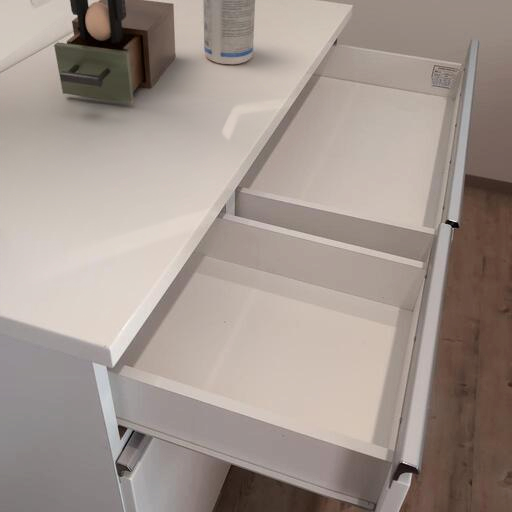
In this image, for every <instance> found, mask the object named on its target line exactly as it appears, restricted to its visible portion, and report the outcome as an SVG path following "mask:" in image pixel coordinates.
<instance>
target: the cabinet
mask: <svg viewBox="0 0 512 512" xmlns="http://www.w3.org/2000/svg"><path fill="white" fill-rule="evenodd" d="M97 2H101V3H103V4H105V5H106V6H107V7H108V0H97ZM125 6H126V17H125V18H124V19H123V20H121V22H122V32H123V33H127V34H135V35H143V49H144V62H145V76H146V77H145V78H144V79H143V80H142V82H141V83H140V84H139V85H138V87H137V88H145V89H152V88H153V87H154V85H155V84H156V83H157V82H158V81H159V79H160V78H161V77H162V75H163V74H164V73H165V71H166V70H167V69H168V68H169V66H170V65H171V64H172V62H174V60H175V58H176V37H175V36H176V35H175V34H176V33H175V7H174V3H171V2H162V1H156V0H155V1H154V0H125ZM71 24H72V30H73V36H74V35H75V34H76V33H78V32H79V31H80V30H79V23H78V16H76V17H75V18H74V19H72V20H71Z"/></svg>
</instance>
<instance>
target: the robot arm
mask: <svg viewBox="0 0 512 512" xmlns="http://www.w3.org/2000/svg"><path fill="white" fill-rule="evenodd" d="M69 3H70V4H69V5H70V9H71V13H72V15H74V16H76V17H78V23H79V30H80V37H81V39H87V38H88V37H89V36H90V33H89V32H88V30H87V28H86V24H85V16H86V12H87V10H88V8H89V6H90V5H89V0H69ZM108 9H109V18H110V26H111V35H112V43H118V42H119V41H120V40H121V39H122V38H123V32H122V22H121V20H123V19H124V18H125V17H126V6H125V0H108Z"/></svg>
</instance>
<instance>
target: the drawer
mask: <svg viewBox="0 0 512 512" xmlns="http://www.w3.org/2000/svg"><path fill="white" fill-rule="evenodd" d="M53 47H54V52H55V59H56V63H57V69H58V74H59V80H60V85H61V91H62V92H61V93H62V94H63V95H64V94H65V95H71V96H78V97H85V98H86V97H87V98H92V99H100V100H107V101H114V102H122V103H129V104H131V103H133V101H134V91H136V89H137V88H139V87H138V85H139V84H140V83H141V82H142V80H143V79H144V78H145V77H146V76H145V62H144V49H143V35H135V34H127V33H123V38H122V39H121V40H120V41H119V42H118V43H112V36H111V37H110V38H109V39H107V40H104V41H100V40H97V39H95V38H94V37H93V36H91V35H90V36H89V37H88V38H87V39H81V37H80V31H79V32H78V33H76V34H75V35H74V34H73V36H71V37H70V38H69V39H67V40H66V42H59V41H57V42H56V43H54V44H53Z"/></svg>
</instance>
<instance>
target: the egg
mask: <svg viewBox="0 0 512 512" xmlns="http://www.w3.org/2000/svg"><path fill="white" fill-rule="evenodd" d="M88 6H89V8H88V10H87V12H86V16H85V24H86V28H87V30H88V32H89V33H90V35H91V36H93V37H94V38H95V39H97V40H100V41H104V40H107V39H109V38H110V37H111V36H112V35H111V26H110V18H109V9H108V7H107V6H106V5H105V4H103V3H101V2H98V1H95V2H92V3H91V4H90V5H88Z"/></svg>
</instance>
